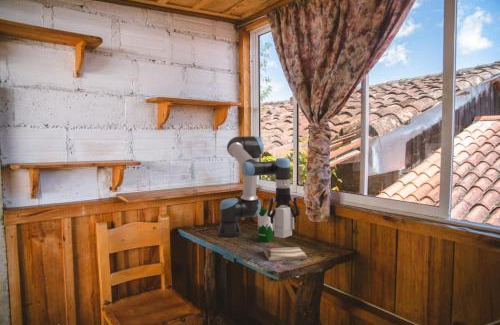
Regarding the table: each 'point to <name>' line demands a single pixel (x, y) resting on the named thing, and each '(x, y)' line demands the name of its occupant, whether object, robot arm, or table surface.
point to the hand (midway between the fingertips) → (283, 229)
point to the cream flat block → (284, 253)
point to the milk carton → (264, 226)
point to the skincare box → (283, 222)
